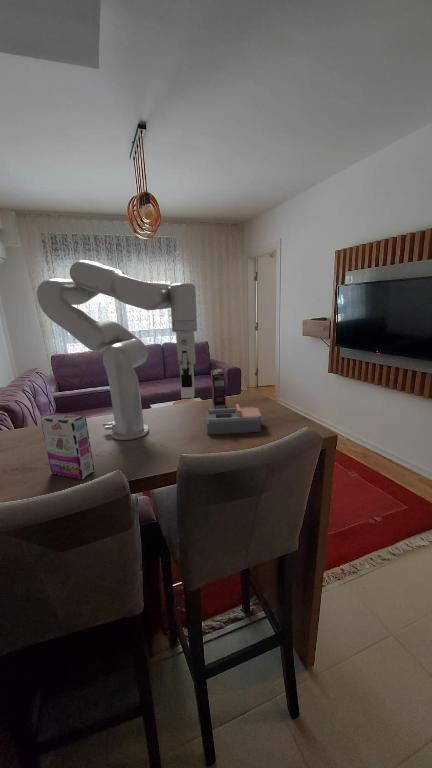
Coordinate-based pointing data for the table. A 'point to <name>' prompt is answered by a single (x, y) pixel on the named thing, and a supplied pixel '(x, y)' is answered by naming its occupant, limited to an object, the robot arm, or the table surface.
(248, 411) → the shutter
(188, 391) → the plug
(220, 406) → the supplement box
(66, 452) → the candy bar box
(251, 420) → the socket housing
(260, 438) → the table surface
